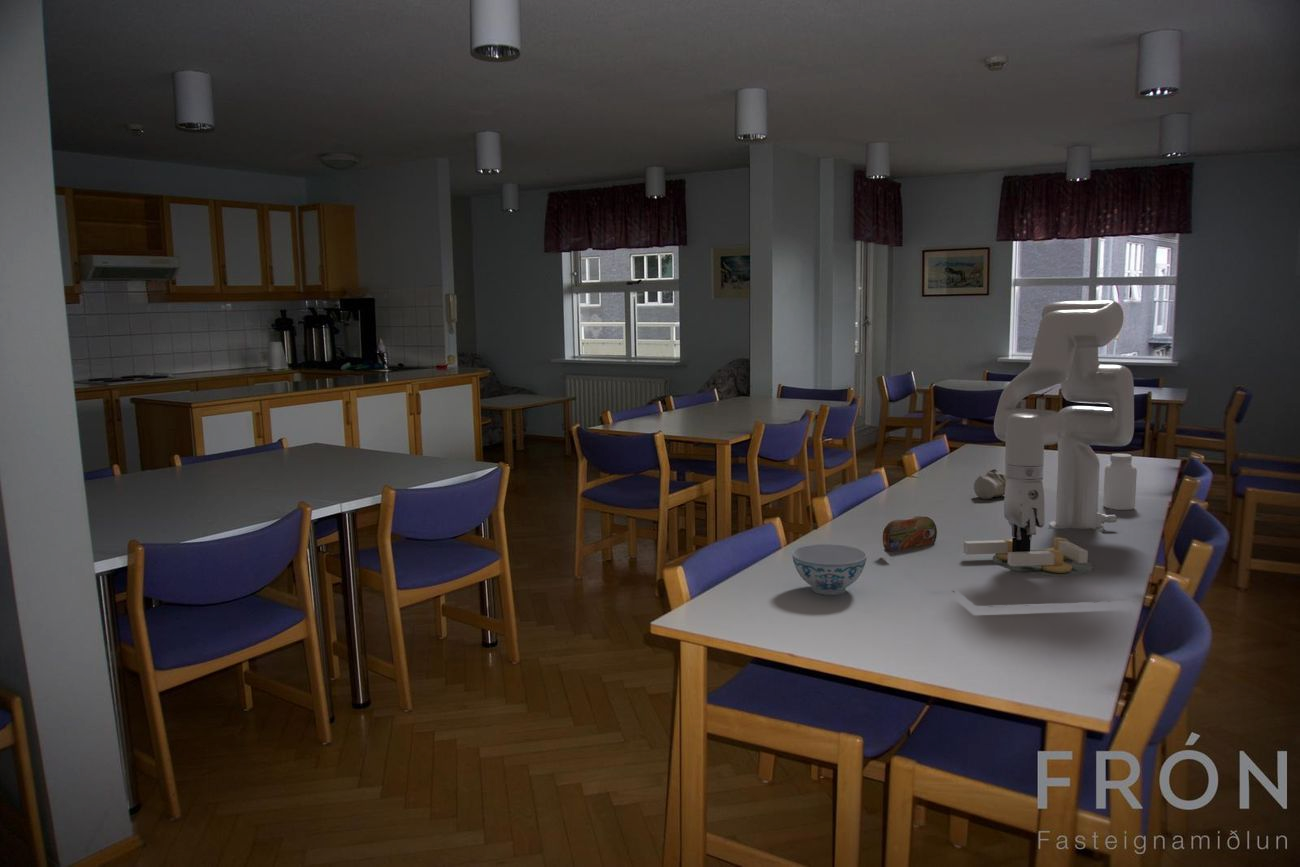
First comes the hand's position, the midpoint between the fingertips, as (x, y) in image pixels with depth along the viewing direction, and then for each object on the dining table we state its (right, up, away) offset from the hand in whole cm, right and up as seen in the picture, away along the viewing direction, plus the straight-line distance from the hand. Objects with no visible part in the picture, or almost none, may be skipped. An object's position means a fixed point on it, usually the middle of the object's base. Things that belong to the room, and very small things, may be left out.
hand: (1020, 556), depth 191 cm
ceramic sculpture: (+24, +7, +78) cm, 82 cm away
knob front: (+3, -2, -3) cm, 5 cm away
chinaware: (-43, -6, -7) cm, 44 cm away
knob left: (-3, -1, +6) cm, 7 cm away
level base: (+6, -3, +4) cm, 8 cm away
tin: (-18, -2, +19) cm, 27 cm away
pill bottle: (+52, +5, +60) cm, 79 cm away
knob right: (+12, -1, +3) cm, 12 cm away
